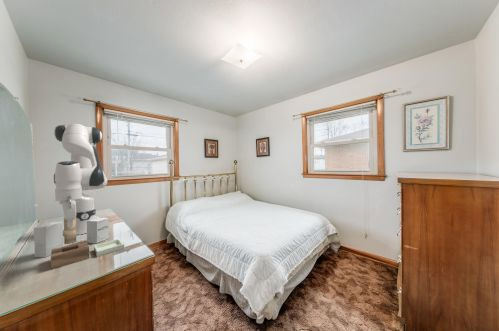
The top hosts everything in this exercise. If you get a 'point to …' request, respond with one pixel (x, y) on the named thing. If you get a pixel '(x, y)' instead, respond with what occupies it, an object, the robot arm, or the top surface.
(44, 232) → the skincare box
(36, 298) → the top surface
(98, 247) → the sage tray
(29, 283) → the top surface
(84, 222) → the robot arm
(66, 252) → the walnut hole block
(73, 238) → the beech dowel
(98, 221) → the supplement box
